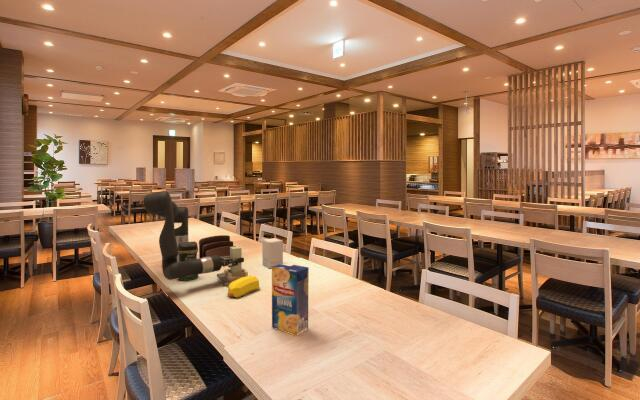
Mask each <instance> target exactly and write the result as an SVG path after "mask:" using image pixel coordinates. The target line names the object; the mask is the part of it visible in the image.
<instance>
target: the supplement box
mask: <svg viewBox="0 0 640 400" xmlns="http://www.w3.org/2000/svg"><path fill="white" fill-rule="evenodd" d="M261 243H262V248H261V249H262V266H263V267H265V268H267V269H272V267H273V266H276V265H279V264H282V263H284V241H283V240H282V239H279V238H277V237H274V238H266V239H265V238H264V239H262V241H261Z"/></svg>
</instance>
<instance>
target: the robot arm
mask: <svg viewBox="0 0 640 400" xmlns="http://www.w3.org/2000/svg"><path fill="white" fill-rule="evenodd" d="M142 204H143V207H144V210H145V211H146V212H147V213H149V214H150V215H155V216H156V215H157V216H159V217H161V218H164V219H165V221H164V223H163V226H162V229H161V232H160V234H159V238H158V244H159V249H160V253H161V268H162V269H161V270H162V274H163V276H164V277H165V279H166V280H169V281H173V280H176V279H178V278H182V277H186V276H189V275H198V276H199V275H202V274H203V275H204V274H209V273H210V274H211V273H214V272H219V271H220V270H221V269H222V267H224V268H225V267H228V268H230V267H233V266H236V265H238V263H241V262H242V263H245V260H244V257H242V258H237V259H232V258H230V256H227V255H226V256H218V255H214V256H208V257H203V258H200V259H199V258H197V259H194V260H190V261H182V262H179V254H178V244H179V243H183V242H190V241H189V208H188V207H187V206H178V205H177V203H176V202H174V201H173V200H172V197H171V195H170V193H169V191H167V190H162V191H159V192H157V191H156V192H153V193H148V194H146V195H145V196H144V197H143V201H142ZM175 224H181V225H180V226H178V227H175ZM230 260H231V261H230ZM178 280H179V279H178Z"/></svg>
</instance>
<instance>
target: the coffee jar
mask: <svg viewBox="0 0 640 400" xmlns="http://www.w3.org/2000/svg"><path fill="white" fill-rule="evenodd" d="M198 253H199V244H198V243H197V242H196V241H189V242H183V243H179V244H178V254H179V262H182V261H190V260H194V259H198V257H197V256H198ZM198 278H199V274H198V275H189V276H186V277H182V278H178V280H179V281H191V280H197V279H198Z"/></svg>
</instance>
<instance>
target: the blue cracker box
mask: <svg viewBox="0 0 640 400" xmlns="http://www.w3.org/2000/svg"><path fill="white" fill-rule="evenodd" d="M309 269H310V267H308V266H304V265H298V264H292V263H289V262H283V263H282V264H279V265H276V266H273V267H272V268H271V328H272V327H274V328H277V329H280V330H283V331H286V332H289V333H292V334H294V335H293V336H295V335H297V334H299V333H300V334H301V332H302V331H303V332H305V331H306V330H308V329H309V274H310V273H309V272H310V271H309ZM274 328H273V329H274ZM307 328H308V329H307ZM277 329H276V330H277ZM305 329H306V330H305ZM280 330H279V331H280ZM304 330H305V331H304ZM283 331H282V332H283ZM286 332H285V333H286ZM303 332H302V333H303ZM289 333H288V334H289ZM292 334H291V335H292ZM300 334H299V335H300ZM297 336H298V335H297Z"/></svg>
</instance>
